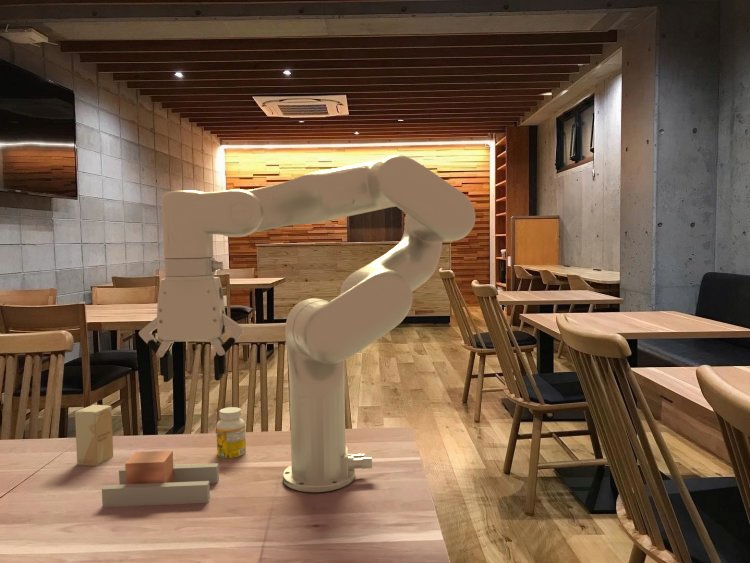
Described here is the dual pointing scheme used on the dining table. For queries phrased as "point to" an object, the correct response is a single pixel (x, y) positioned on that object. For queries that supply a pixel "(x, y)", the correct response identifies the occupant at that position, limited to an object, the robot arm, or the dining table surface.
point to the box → (94, 435)
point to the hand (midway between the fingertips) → (193, 378)
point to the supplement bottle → (230, 433)
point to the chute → (164, 488)
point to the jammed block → (150, 467)
